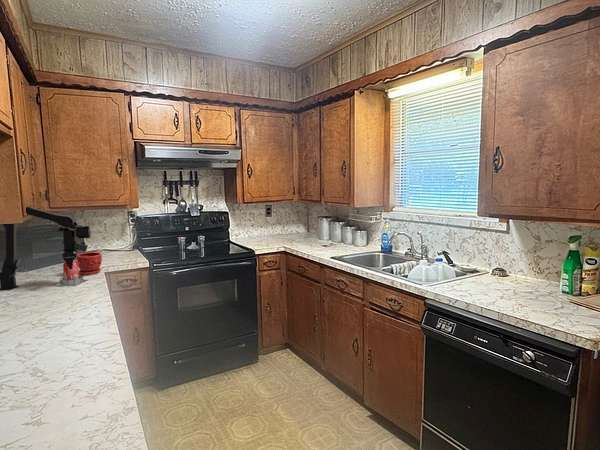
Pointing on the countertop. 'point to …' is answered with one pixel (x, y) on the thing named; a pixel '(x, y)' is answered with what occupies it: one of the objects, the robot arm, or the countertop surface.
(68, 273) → the soda can
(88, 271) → the plant pot
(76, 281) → the duct collar
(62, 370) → the countertop surface
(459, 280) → the countertop surface
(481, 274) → the countertop surface
